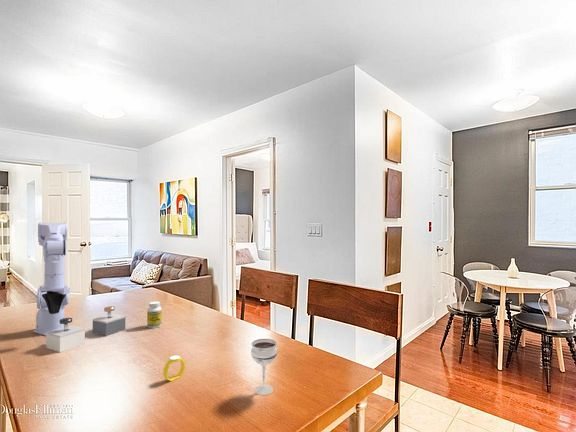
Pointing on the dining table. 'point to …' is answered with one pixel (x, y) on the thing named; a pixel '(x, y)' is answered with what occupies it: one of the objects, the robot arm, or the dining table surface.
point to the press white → (65, 338)
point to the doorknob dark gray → (65, 323)
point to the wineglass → (264, 360)
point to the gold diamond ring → (171, 359)
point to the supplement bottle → (154, 315)
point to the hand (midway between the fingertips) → (54, 313)
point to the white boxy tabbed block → (108, 324)
